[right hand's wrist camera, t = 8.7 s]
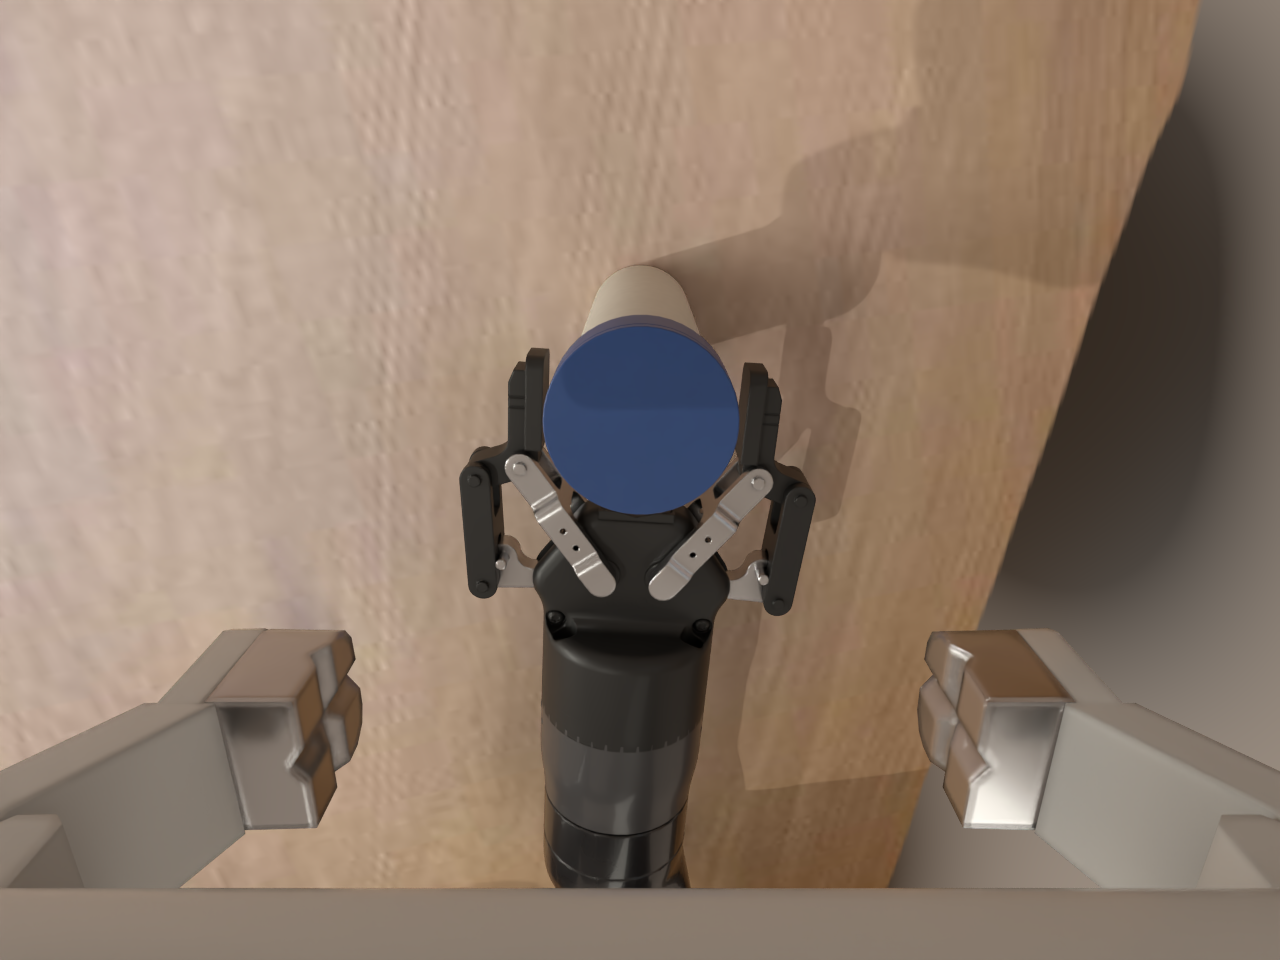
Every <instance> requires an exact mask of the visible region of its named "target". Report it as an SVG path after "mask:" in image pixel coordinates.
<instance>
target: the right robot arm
mask: <svg viewBox="0 0 1280 960" xmlns="http://www.w3.org/2000/svg"><path fill="white" fill-rule="evenodd" d="M354 661H355V654H354V649H353V643H352V638H351V637H350V635H349V634H348V633H347V632H346V631H345V630H301V629H269V630H268V629H265V628H259V629H230V630H226V631H223V632H222V633H221V634H220V635H219V636H218V637H217V638H216V640H215V641H214V642H213V643H212V644H211V645H210V646H209V647H208V648H207V649H206V650H205V652H204V653H203V654H202V655H201V656H200V657H199V658H198V659H197V660H196V661H195V662H194V664H193V665H192V666H191V667H190V668H189V669H188V670H187V671H186V672H185V673H184V674H183V676H182V677H181V678H180V679H179V680H178V681H177V682H176V683H175V684H174V685H173V686H172V688H171V689H170V690H169V691H168V692H167V693H166V694H165V695H164V696H163V697H162V698H161V700H160V701H159V702H158V703H144V704H142V705H140V706H137V707H135V708H133V709H131V710H129V711H127V712H125V713H123V714H120V715H118V716H116V717H114V718H112V719H110V720H108V721H106V722H104V723H101V724H99V725H97V726H95V727H93V728H91V729H89V730H87V731H84V732H82V733H80V734H78V735H76V736H74V737H72V738H70V739H67V740H65V741H63V742H61V743H59V744H57V745H55V746H53V747H50V748H48V749H46V750H44V751H42V752H40V753H38V754H36V755H34V756H31V757H29V758H27V759H25V760H23V761H21V762H19V763H17V764H14V765H12V766H10V767H8V768H6V769H4V770H2V771H0V960H1280V771H1278V770H1276V769H1274V768H1272V767H1269V766H1267V765H1265V764H1263V763H1261V762H1259V761H1257V760H1255V759H1253V758H1250V757H1248V756H1246V755H1244V754H1242V753H1240V752H1238V751H1236V750H1233V749H1231V748H1229V747H1227V746H1225V745H1223V744H1221V743H1219V742H1217V741H1214V740H1212V739H1210V738H1208V737H1206V736H1204V735H1202V734H1200V733H1198V732H1195V731H1193V730H1191V729H1189V728H1187V727H1185V726H1183V725H1181V724H1179V723H1176V722H1174V721H1172V720H1170V719H1168V718H1166V717H1164V716H1162V715H1159V714H1157V713H1155V712H1153V711H1151V710H1149V709H1147V708H1145V707H1143V706H1140V705H1138V704H1136V703H1122V702H1121V701H1120V700H1119V699H1118V697H1117V696H1116V695H1115V694H1114V693H1113V692H1112V691H1111V690H1110V689H1109V688H1108V686H1107V685H1106V684H1105V683H1104V682H1103V681H1102V680H1101V679H1100V678H1099V677H1098V676H1097V674H1096V673H1095V672H1094V671H1093V670H1092V669H1091V668H1090V667H1089V666H1088V665H1087V663H1086V662H1085V661H1084V660H1083V659H1082V658H1081V657H1080V656H1079V655H1078V654H1077V653H1076V652H1075V650H1074V649H1073V648H1072V647H1071V646H1070V645H1069V644H1068V643H1067V642H1066V641H1065V639H1064V638H1063V637H1062V636H1061V635H1060V634H1059V633H1058V632H1056V631H1054V630H1052V629H1049V628H1037V629H1010V630H979V631H939V632H932V633H931V635H930V638H929V640H928V642H927V647H926V653H925V661H926V663H927V665H928V666H929V668H930V670H931V672H932V673H933V675H932V676H931V677H930V678H929V679H928V680H927V681H926V682H925V683H924V684H923V686H922V687H921V688H920V692H919V700H918V708H917V713H918V725H919V733H920V737H921V740H922V744H923V747H924V749H925V751H926V754H927V756H928V758H929V760H930V762H932V763H933V764H935V765H936V766H938V767H939V768H941V769H942V770H944V771H945V777H944V783H943V789H944V791H945V793H946V795H947V796H948V798H949V800H950V802H951V804H952V806H953V808H954V810H955V812H956V814H957V816H958V818H959V820H960V822H961V824H962V826H963V828H981V829H1017V830H1035V834H1036V835H1037V836H1039V837H1040V838H1041V839H1042V840H1043V841H1045V842H1046V843H1047V844H1048V845H1050V846H1051V847H1052V848H1053V849H1054V850H1056V851H1057V852H1058V853H1059V854H1061V855H1062V856H1063V857H1064V858H1065V859H1067V860H1068V861H1069V862H1070V863H1071V864H1073V865H1074V866H1075V867H1076V868H1078V869H1079V870H1080V871H1081V872H1082V873H1084V874H1085V875H1086V876H1087V877H1088V878H1090V879H1091V880H1092V881H1093V882H1095V883H1096V884H1097V885H1098V886H1100V887H1101V888H180V887H181V886H182V885H183V884H184V883H186V882H187V881H188V880H189V879H191V878H192V877H193V876H194V875H195V874H197V873H198V872H199V871H200V870H202V869H203V868H204V867H205V866H206V865H208V864H209V863H210V862H211V861H213V860H214V859H215V858H216V857H217V856H219V855H220V854H221V853H222V852H223V851H225V850H226V849H227V848H228V847H230V846H231V845H232V844H233V843H234V842H236V841H237V840H238V839H239V838H241V837H242V836H243V835H244V834H245V830H262V829H297V828H317V827H318V825H319V823H320V821H321V819H322V817H323V815H324V813H325V811H326V809H327V807H328V805H329V803H330V801H331V799H332V797H333V795H334V793H335V791H336V789H337V783H336V777H335V771H336V770H338V769H339V768H341V767H342V766H344V765H345V764H347V763H348V762H350V760H351V758H352V756H353V753H354V751H355V749H356V747H357V745H358V740H359V735H360V731H361V726H362V698H361V691H360V688H359V687H358V686H357V684H356V683H355V682H354V681H353V680H352V679H351V678H350V677H349V676H348V675H347V673H348V672H349V670H350V668H351V666H352V665H353V663H354Z"/></svg>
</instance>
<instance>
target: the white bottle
mask: <svg viewBox="0 0 1280 960" xmlns="http://www.w3.org/2000/svg"><path fill="white" fill-rule="evenodd" d="M629 315H653V316H660V317H664V318H668V319H671V320H674V321H676V322H679V323H681V324H683V325H685V326H687V327H688V328H690V329H692V330H694V331H695V332H696V333H697V334H699V335H700V333H699V330H698V328H697V325H696V322H695V319H694V317H693V314H692V311H691V308H690V306H689V303H688V300H687V298H686V295H685V293H684V291H683V289H682V287H681V286H680V285H679V283H678V282H677V281H676V280H675V279H674V278H673V277H672V276H670V275H669V274H668V273H666V272H664V271H663V270H661V269H658V268H655V267H652V266H645V265H636V266H630V267H626V268H623V269H621V270H619V271H617V272H615V273H614V274H612V275H611V276H610V277H609V278H607V280H606V281H605V282H604V283H603V284H602V285H601V287H600V288H599V290H598V292H597V294H596V297H595V299H594V302H593V305H592V307H591V310H590V313H589V316H588V319H587V321H586V324H585V327H584V330H583V333H582V335H583V334H585V333H586V332H587V331H589V330H590V329H592V328H594V327H595V326H597V325H599V324H601V323H604V322H606V321H608V320H611V319H615V318H618V317H622V316H629ZM582 335H581V336H582Z"/></svg>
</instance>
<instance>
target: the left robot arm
mask: <svg viewBox="0 0 1280 960" xmlns="http://www.w3.org/2000/svg"><path fill="white" fill-rule="evenodd" d="M549 359H550V354H549V349H544V348H531V349H530V351H529V353H528V354H527V357H526V362H518V364H517V365H516V367H515V368H514V370H513V372H512V375H511V377H510V379H509V382H508V441H507V442H506V443H504V444H502V445H499V446H495V447H491V448H490V447H486V446H483V447H479V448H477V449H476V450H475V451H474V452H473V454H472V455H471V457H470V460H469V462H468V464H467V465H466V466H465V467H464V469H463V471H462V472H461V474H460V478H459V481H460V493H461V505H462V516H463V528H464V540H465V552H466V564H467V575H468V586H469V590H470V592H471V593H472V594H473V595H474V596H476V597H478V598H489V597H491V596H493V595H494V594H495V592H496V590H497V587H534V588H535V590H536V591H537V593H538V595H539V596H540V598H541V601H542V603H543V608H544V628H543V668H542V700H541V707H542V713H541V751H542V760H543V766H544V773H545V804H544V857H545V864H546V868H547V871H548V874H549V877H550V879H551V881H552V883H553V884H554V886H555V888H691V887H690V881H689V876H688V871H687V866H686V861H685V856H684V850H683V839H684V829H685V821H686V812H687V803H688V794H689V788H690V783H691V780H692V776H693V773H694V770H695V766H696V763H697V759H698V753H699V745H700V737H701V729H702V720H703V712H704V703H705V694H706V686H707V677H708V669H709V660H710V652H711V643H712V634H713V626H714V620H715V616H716V614H717V612H718V610H719V609H720V607H721V606H722V605H723V603H724V602H725V601H726V599H736V600H745V601H754V602H762V603H763V604H764V608H765V610H766V611H767V612H768V613H769V614H771V615H774V616H780V615H784V614H786V613H787V612H788V611H789V610H790V609H791V607H792V603H793V599H794V594H795V590H796V585H797V581H798V577H799V572H800V568H801V563H802V559H803V555H804V550H805V546H806V541H807V537H808V533H809V528H810V524H811V519H812V515H813V510H814V506H815V501H816V499H815V495H814V493H813V491H812V489H811V487H810V485H809V484H808V482H807V480H806V478H805V476H804V474H803V473H802V471H801V470H800V469H799V468H797V467H795V466H785V465H783V464H780V463H778V462H776V461H775V460H774V456H775V448H776V441H777V434H778V424H779V419H780V411H781V404H782V399H781V395H780V391H779V388H778V386H777V385H776V383H775V381H774V380H773V379H769V378H768V372H767V370H766V368H765V367H764V365H763V364H761V363H746V362H745V363H744V367H743V374H742V383H741V391H740V400H739V416H740V421H739V433H738V439H737V444H736V447H735V450H736V453H737V457H736V458H735V459H734V460H733V461H732V462H731V463H730V464H729V466H728V467H727V468H726V469H725V470H724V472H723V473H722V475H721V476H720V477H719V478H718V480H717V481H716V482H715V483H714V484H713V485H712V486H711V487H710V488H709V489H708V490H707V491H706V492H704V493H703V494H702V495H700V496H699V497H697V498H696V499H695V500H693V501H691V502H689V503H687V504H686V505H685V506H681V507H678V508H675V509H673V510H669V511H665V512H661V513H655V514H627V513H621V512H617V511H613V510H609V509H607V508H604V507H601V506H599V505H597V504H595V503H593V502H591V501H589V500H587V499H586V498H585V497H583V496H582V495H580V494H579V493H578V492H577V491H576V490H574V489H573V488H572V487H571V486H570V485H569V484H568V483H567V482H566V480H565V479H564V478H563V477H562V476H561V474H560V473H559V471H558V470H557V468H556V467H555V465H554V463H553V461H552V459H551V457H550V455H549V453H548V452H547V451H546V449H545V448H544V447H543V446H544V443H545V438H544V433H543V408H544V403H545V398H546V394H547V391H548V389H549ZM511 481H512V482H513V484H514V485H515V486H516V488H517V489H518V490H519V492H520V493H521V494H522V495H523V497H524V498H525V499H526V501H527V502H528V503H529V504H530V506H531V507H532V509H533V512H534V515H535V518H536V520H537V521H538V523H539V524H540V526H541V527H542V528H543V529H544V531H545V532H546V533H547V535H548V536H549V537H550V538H551V540H550V542H549V543H548V544H547V545H546V546H545V547H544V548H543V550H542V551H541V552H540V553H539V555H538V557H537V559H531V558H529V557H527V556H525V555H524V554H523V552H522V550H521V547H520V544H519V542H518V541H517V539H515V538H514V537H512V536H509V535H504V520H503V504H502V489H501V484H504V483H507V482H511ZM764 497H765V498H767V499H770V500H771V505H770V510H769V515H768V520H767V525H766V530H765V535H764V539H763V544H762V549H761V550H754V551H752V552H751V553H749V554H748V555H747V557H746V559H745V561H744V563H743V565H742V566H741V567H740V568H738V569H736V570H727V567H726V565H725V563H724V561H723V560H722V558H721V557H720V555H719V554H718V552H717V550H718V549H719V548H720V547H721V546H722V545H723V544H724V543H725V542H726V541H727V540H728V539H729V538H730V537H731V536H732V535H733V534H734V533H735V532H736V530H737V528H738V526H739V523H740V521H741V520H742V519H743V518H744V517H745V516H746V515H747V514H748V513H749V512H750V511H751V510H752V509H753V508H754V507H755V506H756V505H757V504H758V503H759V502H760V501H761V500H762V499H763V498H764Z"/></svg>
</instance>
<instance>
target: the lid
mask: <svg viewBox="0 0 1280 960" xmlns="http://www.w3.org/2000/svg"><path fill="white" fill-rule="evenodd" d="M739 421H740V416H739V406H738V401H737V397H736V393H735V391H734V388H733V385H732V383H731V380H730V378H729V376H728V373H727V371H726V369H725V366H724V365H723V363H722V361H721V359H720V357H719V356H718V354H717V353H716V352H715V350H714V349H713V348H712V346H711V345H710V344H709V343H708V342H707V341H706V340H705V339H704V338H703V337H701V336H700V335H699V334H697V333H696V332H695V331H694V330H692V329H690V328H688V327H687V326H685V325H683V324H681V323H679V322H676V321H674V320H671V319H668V318H664V317H660V316H653V315H629V316H622V317H618V318H615V319H611V320H608V321H606V322H604V323H601V324H599V325H597V326H595V327H594V328H592V329H590V330H589V331H587V332H586V333H585V334H583V335H582V336H581V337H580V338H578V339H577V340H576V342H575V343H574V344H573V345H572V346H571V347H570V348H569V349H568V351H567V352H566V353H565V355H564V356H563V358H562V360H561V361H560V363H559V365H558V367H557V369H556V371H555V374H554V376H553V379H552V381H551V383H550V386H549V389H548V391H547V394H546V398H545V403H544V408H543V433H544V438H545V443H546V446H547V449H548V452H549V455H550V457H551V459H552V461H553V463H554V465H555V467H556V468H557V470H558V471H559V473H560V474H561V476H562V477H563V478H564V479H565V480H566V482H567V483H568V484H569V485H570V486H571V487H572V488H573V489H574V490H576V491H577V492H578V493H579V494H580V495H582V496H583V497H585V498H586V499H588V500H589V501H591V502H593V503H595V504H597V505H599V506H601V507H604V508H607V509H609V510H613V511H617V512H621V513H627V514H655V513H661V512H665V511H669V510H673V509H675V508H678V507H681V506H683V505H685V504H687V503H689V502H691V501H693V500H695V499H696V498H697V497H699V496H700V495H702V494H703V493H704V492H706V491H707V490H708V489H709V488H710V487H711V486H712V485H713V484H714V483H715V482H716V481H717V480H718V478H719V477H720V476H721V475H722V473H723V472H724V470H725V469H726V467H727V465H728V464H729V462H730V459H731V457H732V455H733V453H734V450H735V447H736V444H737V439H738V433H739Z"/></svg>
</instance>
